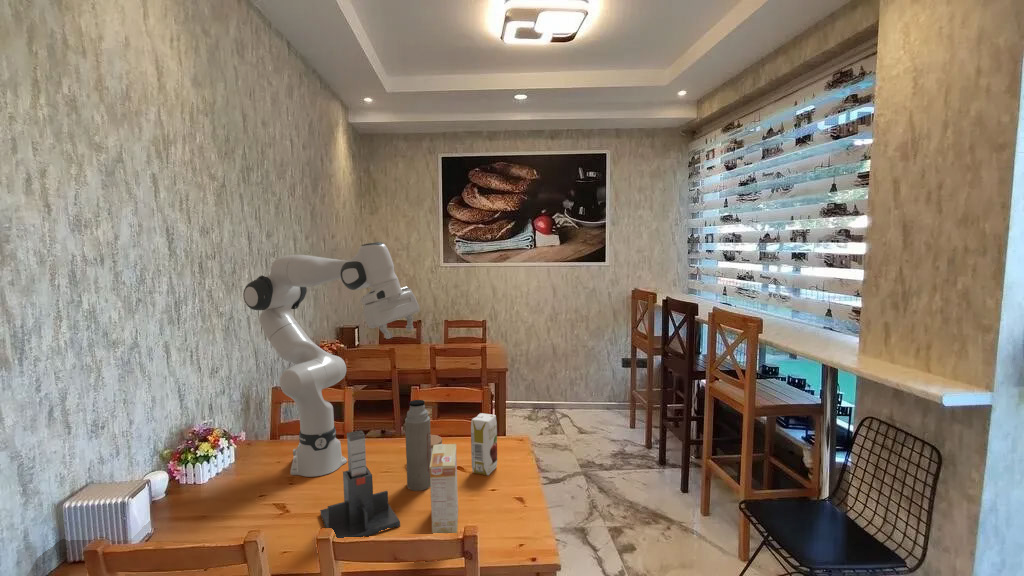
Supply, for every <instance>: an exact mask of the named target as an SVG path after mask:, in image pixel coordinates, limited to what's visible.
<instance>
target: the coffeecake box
mask: <svg viewBox="0 0 1024 576" xmlns="http://www.w3.org/2000/svg"><path fill="white" fill-rule="evenodd" d="M457 462H458V461H457V443H448V444H447V443H442V444H436V445H433V450H432V456H431V462H430V506H431V534H432V533H457V534H458V522H459V521H458V519H459V518H458V517H459V497H458V468H457V465H458V464H457Z"/></svg>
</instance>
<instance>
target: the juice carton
mask: <svg viewBox="0 0 1024 576" xmlns="http://www.w3.org/2000/svg"><path fill="white" fill-rule="evenodd" d="M470 422H471V423H470V448H471V453H470V455H471V468H472V469H471V471H472V473H474V474H478V475H483V476H490V474H492V472H493V471H495V469H496V468H497V465H498V429H497V428H498V423H497V416H496V414H491V413H490V414H489V413H482V412H479V414H477V416H475V417H473V418H472V419H471V421H470Z"/></svg>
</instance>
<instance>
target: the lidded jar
mask: <svg viewBox="0 0 1024 576" xmlns="http://www.w3.org/2000/svg"><path fill="white" fill-rule="evenodd" d="M436 444H443V438H442V437H441V436H440V435H436V434H431V456H432V450H433V445H436Z"/></svg>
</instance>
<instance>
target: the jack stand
mask: <svg viewBox="0 0 1024 576" xmlns="http://www.w3.org/2000/svg"><path fill="white" fill-rule="evenodd" d="M342 481H343V500H344V501H342V502H338V503H334V504H331V505H328V506H327V508H323V509H320V510H319V512H320V516H321V517H320V518H321V520H322V519H323V520H322V522H323V521H324V523H323V525H324V524H325V525H324V527H326V528H332V529H333V530H334V532H335V534H336V537H337V538H344V537H363V536H367V537H370V536H373V535H376V533H377V534H379V533H378V532H379V531H381V530H385V529H387V528H393V527H396V528H398V526H399V527H400V526H401V520H400V519H399V518H398V516H397V514H396V513H395V512H394V510H393V509H392V507H391V505H390V504H389V492H388V490H383V491H379V492H376V493H374V487H373V474H372V472H370V469H369V468H368V466H367V465H366V475H365V476H361V477H357V478H353V479H350V477H349V469H348V470H344V471H342ZM326 528H325V529H326ZM393 529H394V528H393Z"/></svg>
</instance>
